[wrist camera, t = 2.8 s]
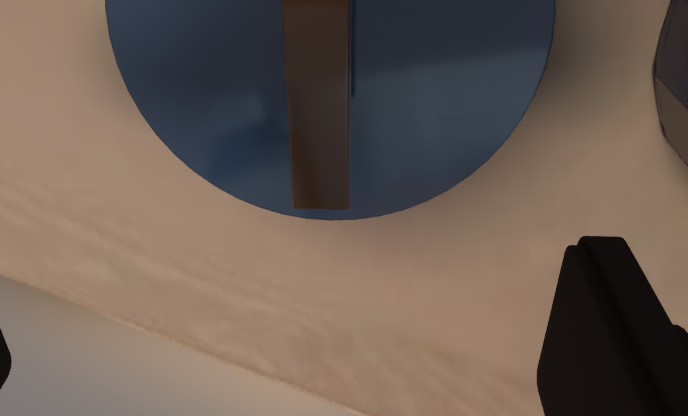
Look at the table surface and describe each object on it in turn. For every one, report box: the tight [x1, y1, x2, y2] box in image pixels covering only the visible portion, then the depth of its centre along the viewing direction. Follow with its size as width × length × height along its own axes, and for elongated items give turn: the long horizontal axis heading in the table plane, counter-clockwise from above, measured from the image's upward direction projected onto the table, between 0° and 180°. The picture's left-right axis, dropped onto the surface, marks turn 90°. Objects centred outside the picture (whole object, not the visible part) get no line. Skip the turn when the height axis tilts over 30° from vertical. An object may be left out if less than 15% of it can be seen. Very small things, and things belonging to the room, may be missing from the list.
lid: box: [105, 0, 556, 220], centre depth 20 cm, size 15×15×6 cm
